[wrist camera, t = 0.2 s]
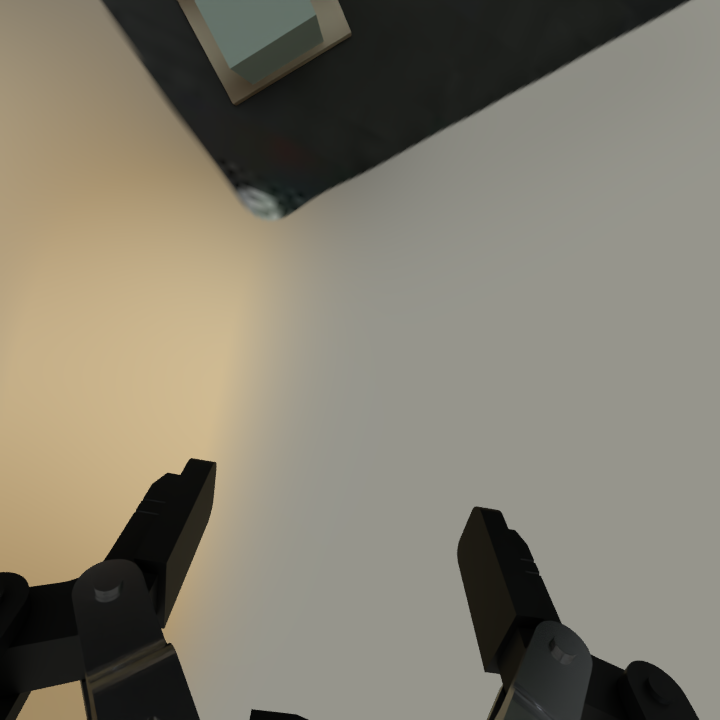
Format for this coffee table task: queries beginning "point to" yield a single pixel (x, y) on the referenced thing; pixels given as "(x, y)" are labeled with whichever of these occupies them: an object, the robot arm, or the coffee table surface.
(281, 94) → the coffee table surface
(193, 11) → the oak base
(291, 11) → the sage socket
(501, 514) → the robot arm
